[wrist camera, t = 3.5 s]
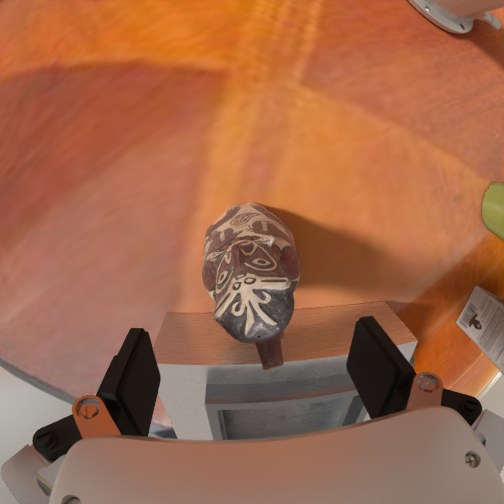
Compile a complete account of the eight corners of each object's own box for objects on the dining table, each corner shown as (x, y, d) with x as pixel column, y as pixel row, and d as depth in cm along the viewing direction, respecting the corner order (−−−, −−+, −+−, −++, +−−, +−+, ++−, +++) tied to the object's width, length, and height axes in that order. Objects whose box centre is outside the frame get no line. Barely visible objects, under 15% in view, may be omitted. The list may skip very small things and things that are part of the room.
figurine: (286, 196, 21) (339, 248, 10) (295, 276, 24) (337, 373, 13) (197, 211, 21) (158, 278, 10) (215, 289, 24) (204, 395, 13)
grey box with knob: (406, 298, 26) (452, 347, 17) (369, 402, 32) (390, 449, 24) (166, 313, 25) (141, 381, 16) (193, 419, 31) (188, 474, 23)
